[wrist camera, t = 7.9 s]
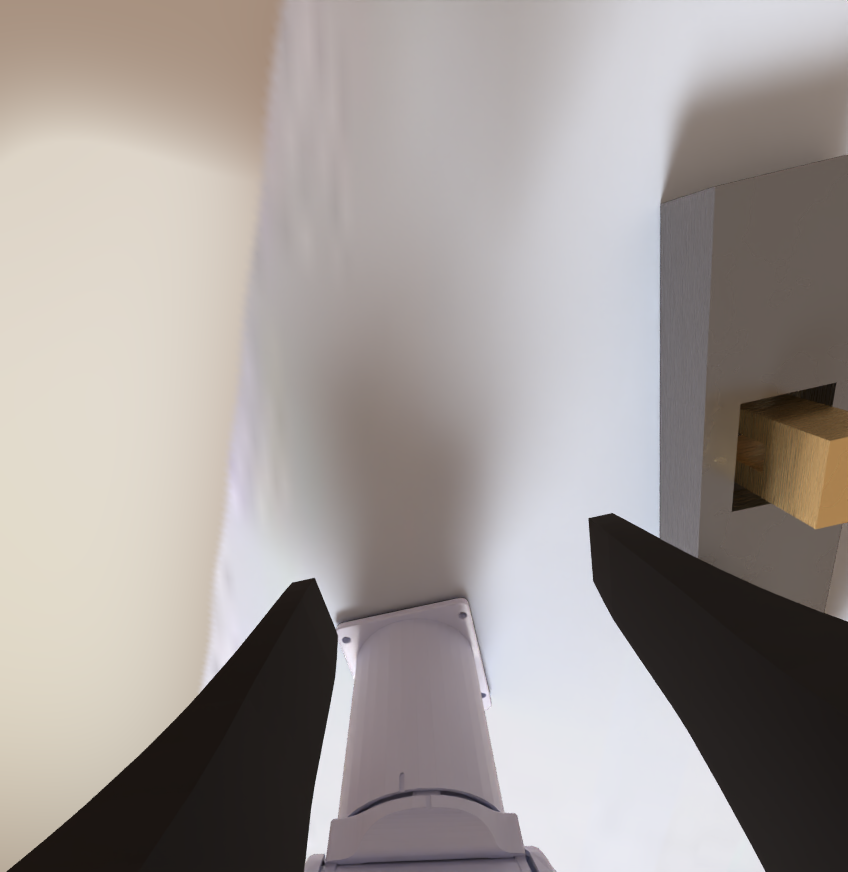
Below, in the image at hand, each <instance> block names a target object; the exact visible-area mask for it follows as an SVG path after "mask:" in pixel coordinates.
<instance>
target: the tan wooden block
mask: <svg viewBox="0 0 848 872" xmlns="http://www.w3.org/2000/svg"><path fill="white" fill-rule="evenodd" d="M738 433H739V434H742V435H739V436H738V440H737V453H736V465H735V477H734V482H736V483H737V484H739V485H741V486H743V487H744V488H746V489H748V490H749V491H751V492H753V493H755V494H756V495H758V496H760V497H761V498H763V499H765V500H766V501H768V502H770V503H772V504H773V505H775V506H777V507H778V508H780V509H782V510H784V511H785V512H787V513H789V514H790V515H792V516H794V517H796V518H797V519H799V520H801V521H802V522H804V523H806V524H808V525H809V526H811V527H813V528H814V529H820V528H824V527H829V526H833V525H838V524H842V523H847V522H848V411H846V410H842V409H839V408H835V407H832V406H828V405H824V404H821V403H817V402H814V401H810V400H806V399H803V398H799V397H796V396H792V395H788V394H782V395H778V396H773V397H769V398H764V399H760V400H755V401H751V402H746V403H742V404H740V416H739V428H738Z"/></svg>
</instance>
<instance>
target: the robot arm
mask: <svg viewBox="0 0 848 872" xmlns="http://www.w3.org/2000/svg"><path fill="white" fill-rule="evenodd" d="M588 519H589V532H590V545H591V558H592V571H593V581H594V583H595V585H596V587H597V589H598V591H599V593H600V595H601V597H602V599H603V601H604V603H605V605H606V607H607V609H608V610H609V612H610V614H611V616H612V618H613V620H614V621H615V623H616V624H617V626H618V627H619V629H620V630H621V632H622V633H623V635H624V636H625V638H626V639H627V641H628V642H629V644H630V645H631V647H632V648H633V650H634V651H635V652H636V654H637V655H638V657H639V658H640V660H641V661H642V663H643V664H644V666H645V667H646V669H647V670H648V672H649V673H650V675H651V676H652V677H653V679H654V680H655V682H656V683H657V685H658V686H659V688H660V689H661V691H662V692H663V694H664V695H665V697H666V698H667V700H668V701H669V702H670V704H671V705H672V707H673V708H674V710H675V711H676V713H677V715H678V716H679V718H680V719H681V721H682V723H683V724H684V726H685V727H686V729H687V730H688V732H689V734H690V735H691V737H692V739H693V741H694V742H695V744H696V746H697V748H698V750H699V751H700V753H701V755H702V757H703V758H704V760H705V762H706V764H707V765H708V767H709V769H710V771H711V772H712V774H713V776H714V778H715V779H716V781H717V783H718V785H719V787H720V788H721V790H722V792H723V794H724V796H725V797H726V799H727V801H728V803H729V805H730V807H731V808H732V810H733V812H734V814H735V816H736V818H737V819H738V821H739V823H740V825H741V827H742V829H743V830H744V832H745V834H746V836H747V838H748V839H749V841H750V843H751V845H752V847H753V849H754V851H755V852H756V854H757V856H758V858H759V860H760V862H761V864H762V866H763V868H764V870H765V871H766V872H848V622H847V621H844V620H842V619H839V618H836V617H833V616H831V615H828V614H825V613H823V612H820V611H817V610H815V609H812V608H810V607H807V606H805V605H802V604H800V603H797V602H795V601H792V600H790V599H787V598H785V597H782V596H780V595H777V594H775V593H772V592H770V591H767V590H765V589H763V588H760V587H758V586H756V585H754V584H751V583H749V582H747V581H745V580H743V579H740V578H738V577H736V576H734V575H732V574H730V573H727V572H725V571H723V570H721V569H719V568H717V567H715V566H713V565H710V564H708V563H706V562H704V561H702V560H700V559H698V558H696V557H694V556H692V555H690V554H688V553H686V552H684V551H683V550H681V549H679V548H677V547H675V546H673V545H671V544H669V543H667V542H665V541H663V540H662V539H660V538H658V537H656V536H654V535H652V534H650V533H649V532H647V531H645V530H643V529H641V528H639V527H638V526H636V525H634V524H632V523H630V522H628V521H626V520H625V519H623V518H621V517H619V516H617V515H615V514H613V513H611V514H606V515H601V516H597V517H592V518H588ZM461 612H465V613H463V614H460V613H461ZM346 637H349V638H346ZM338 642H339V644H340V646H341V649H342V651H343V654H344V656H345V659H346V661H347V663H348V666H349V668H350V671H351V673H352V676H353V678H354V688H353V696H352V705H351V713H350V721H349V729H348V738H347V746H346V754H345V763H344V771H343V779H342V788H341V796H340V804H339V812H338V819H333V820H332V821H331V825H330V833H329V840H328V848H327V855H326V858H325V854H313V855H311V856H310V857H309V858H308V859H307V861H306V863H305V859H306V849H307V840H308V831H309V822H310V813H311V805H312V799H313V793H314V786H315V780H316V775H317V770H318V765H319V760H320V754H321V749H322V744H323V739H324V734H325V728H326V723H327V718H328V713H329V708H330V702H331V697H332V691H333V686H334V680H335V672H336V660H337V645H338ZM491 706H492V702H491V698H490V693H489V689H488V685H487V680H486V676H485V672H484V668H483V663H482V659H481V655H480V650H479V646H478V642H477V637H476V633H475V629H474V624H473V620H472V616H471V611H470V607H469V603H468V601H467V600H466V599H464V598H457V599H452V600H447V601H443V602H438V603H433V604H429V605H424V606H419V607H415V608H410V609H405V610H401V611H396V612H391V613H387V614H382V615H377V616H373V617H368V618H363V619H358V620H354V621H349V622H344V623H341V624H339V625H338V626H337V628H336V629H335V627H334V624H333V622H332V619H331V617H330V614H329V612H328V609H327V607H326V604H325V602H324V600H323V597H322V595H321V592H320V590H319V587H318V585H317V582H316V580H315V578H312V579H307V580H303V581H298V582H293V583H291V585H290V586H289V587H288V588H287V589H286V590H285V592H284V593H283V594H282V595H281V596H280V598H279V599H278V600H277V601H276V603H275V604H274V605H273V606H272V608H271V609H270V610H269V611H268V613H267V614H266V615H265V617H264V618H263V619H262V620H261V622H260V623H259V624H258V625H257V626H256V628H255V629H254V630H253V631H252V633H251V634H250V635H249V636H248V638H247V639H246V640H245V641H244V642H243V644H242V645H241V646H240V647H239V649H238V650H237V651H236V652H235V653H234V655H233V656H232V657H231V658H230V659H229V660H228V662H227V663H226V664H225V665H224V666H223V667H222V668H221V670H220V671H219V672H218V673H217V674H216V675H215V676H214V678H213V679H212V680H211V681H210V682H209V683H208V684H207V686H206V687H205V688H204V689H203V690H202V691H201V692H200V694H199V695H198V696H197V697H196V698H195V699H194V700H193V701H192V703H191V704H190V705H189V706H188V707H187V708H186V709H185V710H184V711H183V712H182V713H181V714H180V715H179V716H178V717H177V718H176V719H175V720H174V721H173V722H172V723H171V724H170V725H169V727H168V728H166V729H165V731H163V732H162V733H161V735H159V736H158V737H157V739H156V740H155V741H153V743H151V745H149V746H148V748H146V749H145V750H144V751H143V752H142V753H141V754H140V755H139V756H138V757H137V758H136V759H135V760H134V761H133V762H132V763H130V764H129V765H128V766H127V767H126V768H125V769H124V770H123V771H122V772H121V773H120V774H119V775H118V776H117V777H115V778H114V779H113V780H112V781H111V782H110V783H109V784H108V785H107V786H106V787H104V789H102V790H101V791H100V792H99V793H98V794H97V795H96V796H95V797H94V798H92V800H91V801H89V802H88V803H87V804H86V805H85V806H84V807H83V808H81V809H80V810H79V811H78V812H77V813H76V814H75V815H73V816H72V817H71V818H70V819H69V820H68V821H66V822H65V823H64V824H63V825H62V826H61V827H60V828H58V829H57V830H56V831H55V832H54V833H53V834H51V835H50V836H49V837H48V838H47V839H45V840H44V841H43V842H42V843H41V844H39V845H38V846H37V847H36V848H34V849H33V850H32V851H31V852H30V853H28V854H27V855H26V856H25V857H24V858H22V859H21V860H20V861H19V862H18V863H16V864H15V865H14V866H13V867H12V868H10V869H9V870H8V871H7V872H556V870H555V869H554V868H553V867H552V866H551V864H550V863H549V861H548V859H547V858H546V856H545V855H544V854H543V852H542V851H541V850H540V849H539V848H537V847H534V846H524V845H523V840H522V836H521V831H520V826H519V822H518V817H517V815H516V814H515V813H504V808H503V803H502V798H501V793H500V788H499V782H498V777H497V772H496V767H495V762H494V757H493V752H492V747H491V741H490V736H489V731H488V726H487V721H486V716H485V711H484V710H488V709H489V708H490V707H491Z"/></svg>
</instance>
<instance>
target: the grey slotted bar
mask: <svg viewBox="0 0 848 872" xmlns="http://www.w3.org/2000/svg"><path fill="white" fill-rule="evenodd" d="M782 394H788V395H792V396H796V397H799V398H803V399H806V400H810V401H814V402H817V403H821V404H824V405H828V406H832V407H835V408H839V409H842V410H846V411H848V155H844V156H840V157H836V158H832V159H828V160H823V161H819V162H815V163H811V164H807V165H803V166H798V167H794V168H790V169H786V170H782V171H777V172H773V173H769V174H765V175H761V176H757V177H752V178H748V179H744V180H740V181H736V182H732V183H727V184H723V185H719V186H715V187H712V188H709V189H706V190H703V191H699V192H696V193H693V194H690V195H687V196H684V197H681V198H678V199H675V200H672V201H668V202H665V203H662V204H661V346H660V539H662V540H663V541H665V542H667V543H669V544H671V545H673V546H675V547H677V548H679V549H681V550H683V551H684V552H686V553H688V554H690V555H692V556H694V557H696V558H698V559H700V560H702V561H704V562H706V563H708V564H710V565H713V566H715V567H717V568H719V569H721V570H723V571H725V572H727V573H730V574H732V575H734V576H736V577H738V578H740V579H743V580H745V581H747V582H749V583H751V584H754V585H756V586H758V587H760V588H763V589H765V590H767V591H770V592H772V593H775V594H777V595H780V596H782V597H785V598H787V599H790V600H792V601H795V602H797V603H800V604H802V605H805V606H807V607H810V608H812V609H815V610H817V611H820V612H823V613H824V610H825V605H826V600H827V596H828V591H829V586H830V581H831V576H832V571H833V566H834V562H835V557H836V552H837V547H838V542H839V537H840V532H841V528H842V524H838V525H833V526H829V527H824V528H820V529H814V528H813V527H811V526H809V525H808V524H806V523H804V522H802V521H801V520H799V519H797V518H796V517H794V516H792V515H790V514H789V513H787V512H785V511H784V510H782V509H780V508H778V507H777V506H775V505H773V504H772V503H770V502H768V501H766V500H765V499H763V498H761V497H760V496H758V495H756V494H755V493H753V492H751V491H749V490H748V489H746V488H744V487H743V486H741V485H739V484H737V483H736V482H734V477H735V465H736V453H737V440H738V428H739V416H740V404H742V403H746V402H751V401H755V400H760V399H764V398H769V397H773V396H778V395H782Z"/></svg>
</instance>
